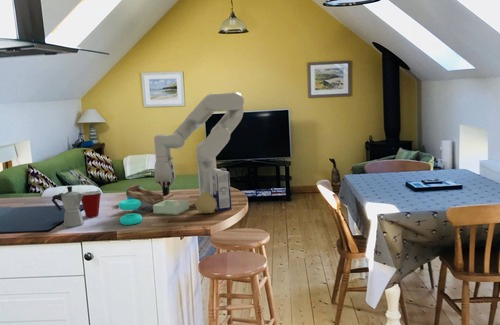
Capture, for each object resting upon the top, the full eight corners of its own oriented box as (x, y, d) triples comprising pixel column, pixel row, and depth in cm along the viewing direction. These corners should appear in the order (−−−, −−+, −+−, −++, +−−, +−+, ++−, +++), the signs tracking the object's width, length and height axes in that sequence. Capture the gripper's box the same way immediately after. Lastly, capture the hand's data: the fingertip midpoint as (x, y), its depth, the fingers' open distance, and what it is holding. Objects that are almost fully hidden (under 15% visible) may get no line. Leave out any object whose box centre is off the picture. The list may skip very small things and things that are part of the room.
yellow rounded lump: (220, 210, 242) (218, 188, 240) (215, 216, 230) (213, 193, 228) (200, 210, 243) (198, 189, 242) (194, 217, 232) (192, 194, 230)
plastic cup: (107, 212, 250) (105, 189, 248) (98, 218, 239) (96, 193, 237) (86, 213, 251) (84, 189, 249) (77, 219, 241) (74, 194, 239)
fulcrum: (159, 207, 255) (158, 196, 254) (145, 213, 244) (144, 202, 243) (146, 206, 258) (145, 196, 257) (132, 212, 247) (131, 201, 247)
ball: (182, 210, 245) (184, 203, 244) (177, 212, 241) (179, 205, 240) (175, 207, 246) (177, 200, 245) (170, 209, 242) (172, 202, 241)
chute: (173, 196, 260) (174, 189, 259) (152, 204, 243) (153, 197, 242) (148, 187, 266) (149, 180, 265) (126, 195, 249) (127, 187, 248)
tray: (189, 209, 247) (188, 201, 247) (176, 214, 237) (176, 206, 237) (166, 207, 253) (165, 200, 252) (153, 213, 243) (152, 205, 242)
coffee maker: (90, 221, 235) (86, 183, 232) (85, 226, 226) (80, 187, 223) (58, 223, 234) (53, 185, 231) (51, 228, 226) (46, 189, 223)
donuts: (142, 201, 224) (120, 204, 220) (144, 223, 226) (122, 226, 222) (138, 197, 233) (116, 200, 230) (140, 218, 235) (118, 221, 231)
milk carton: (214, 208, 247) (211, 167, 243) (227, 206, 249) (224, 166, 246) (218, 211, 240) (215, 169, 237) (231, 209, 242) (229, 168, 239)
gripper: (179, 158, 255) (182, 193, 258) (155, 157, 261) (158, 192, 264) (171, 160, 248) (174, 196, 251) (146, 160, 254) (149, 195, 257)
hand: (166, 194), depth 257 cm, fingers closed
